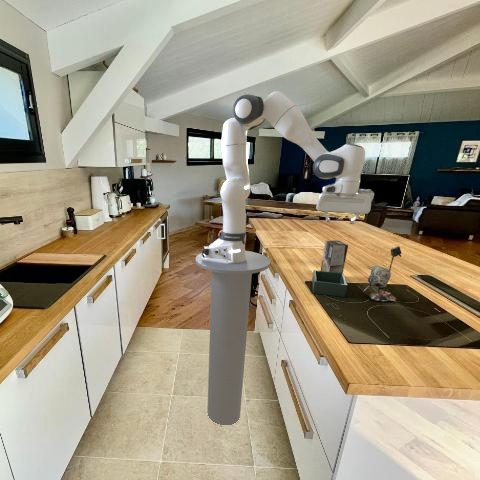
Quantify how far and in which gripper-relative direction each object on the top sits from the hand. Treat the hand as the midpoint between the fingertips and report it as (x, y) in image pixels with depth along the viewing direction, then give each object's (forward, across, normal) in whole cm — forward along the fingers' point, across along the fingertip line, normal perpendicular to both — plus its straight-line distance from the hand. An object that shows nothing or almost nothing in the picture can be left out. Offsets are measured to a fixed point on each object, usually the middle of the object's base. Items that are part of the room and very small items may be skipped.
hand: (339, 223), depth 130 cm
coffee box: (+25, -1, 0) cm, 25 cm away
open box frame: (+24, +1, +14) cm, 28 cm away
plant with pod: (+24, -17, +18) cm, 35 cm away
